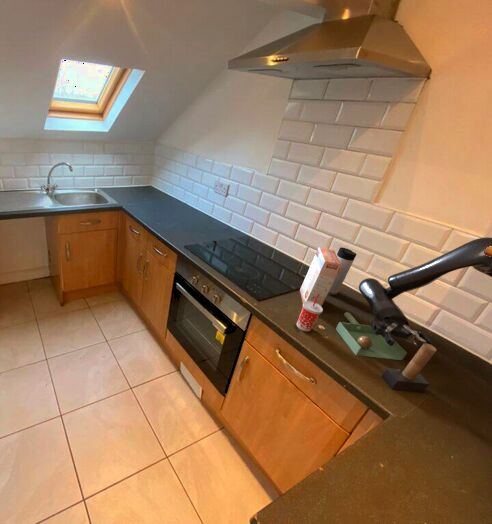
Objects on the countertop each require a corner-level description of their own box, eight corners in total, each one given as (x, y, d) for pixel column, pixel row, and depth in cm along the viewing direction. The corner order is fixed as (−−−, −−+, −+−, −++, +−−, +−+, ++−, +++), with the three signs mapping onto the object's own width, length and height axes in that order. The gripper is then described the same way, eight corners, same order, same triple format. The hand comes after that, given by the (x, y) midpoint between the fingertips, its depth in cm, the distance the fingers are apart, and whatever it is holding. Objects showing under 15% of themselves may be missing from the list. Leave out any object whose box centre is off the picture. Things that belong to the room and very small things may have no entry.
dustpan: (402, 360, 95) (407, 353, 93) (355, 355, 95) (360, 347, 93) (363, 319, 113) (367, 312, 111) (324, 314, 113) (327, 308, 111)
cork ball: (375, 349, 94) (367, 350, 98) (375, 336, 96) (367, 338, 99) (361, 346, 95) (354, 347, 99) (361, 333, 97) (354, 335, 100)
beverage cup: (305, 334, 101) (321, 301, 94) (290, 323, 106) (304, 290, 99) (316, 330, 104) (333, 297, 97) (301, 319, 109) (316, 287, 102)
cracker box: (319, 313, 113) (343, 265, 103) (302, 308, 115) (324, 260, 105) (314, 294, 125) (335, 249, 115) (299, 290, 127) (318, 245, 117)
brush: (411, 379, 88) (439, 342, 81) (423, 392, 84) (454, 355, 77) (381, 376, 88) (406, 339, 81) (391, 389, 84) (419, 351, 77)
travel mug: (317, 286, 131) (335, 245, 121) (330, 287, 132) (350, 246, 122) (326, 295, 125) (346, 252, 116) (340, 295, 126) (361, 253, 117)
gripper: (370, 301, 100) (387, 331, 87) (420, 313, 97) (446, 346, 83) (360, 318, 104) (375, 349, 90) (407, 331, 100) (430, 365, 87)
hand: (409, 348), depth 87 cm, fingers open, 8 cm apart
